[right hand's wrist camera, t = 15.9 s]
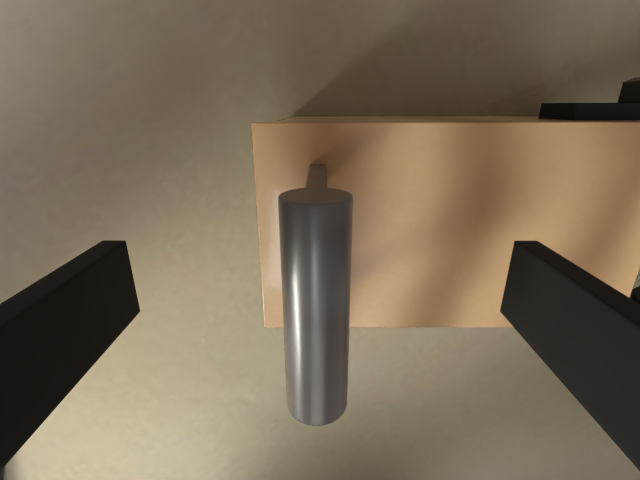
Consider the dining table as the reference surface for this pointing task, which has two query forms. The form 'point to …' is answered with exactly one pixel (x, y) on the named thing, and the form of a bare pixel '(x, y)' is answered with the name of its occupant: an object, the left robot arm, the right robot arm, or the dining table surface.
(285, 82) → the dining table surface
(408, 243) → the lid
